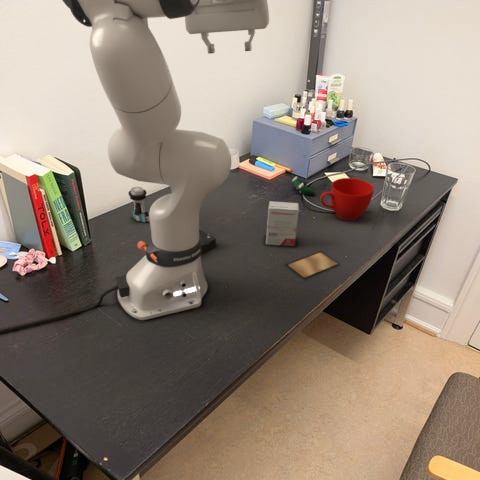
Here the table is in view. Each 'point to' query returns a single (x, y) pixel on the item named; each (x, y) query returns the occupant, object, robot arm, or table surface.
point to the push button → (139, 204)
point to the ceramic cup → (349, 197)
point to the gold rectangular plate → (312, 265)
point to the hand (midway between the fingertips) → (229, 51)
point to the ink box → (282, 223)
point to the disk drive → (206, 241)
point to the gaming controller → (302, 186)
